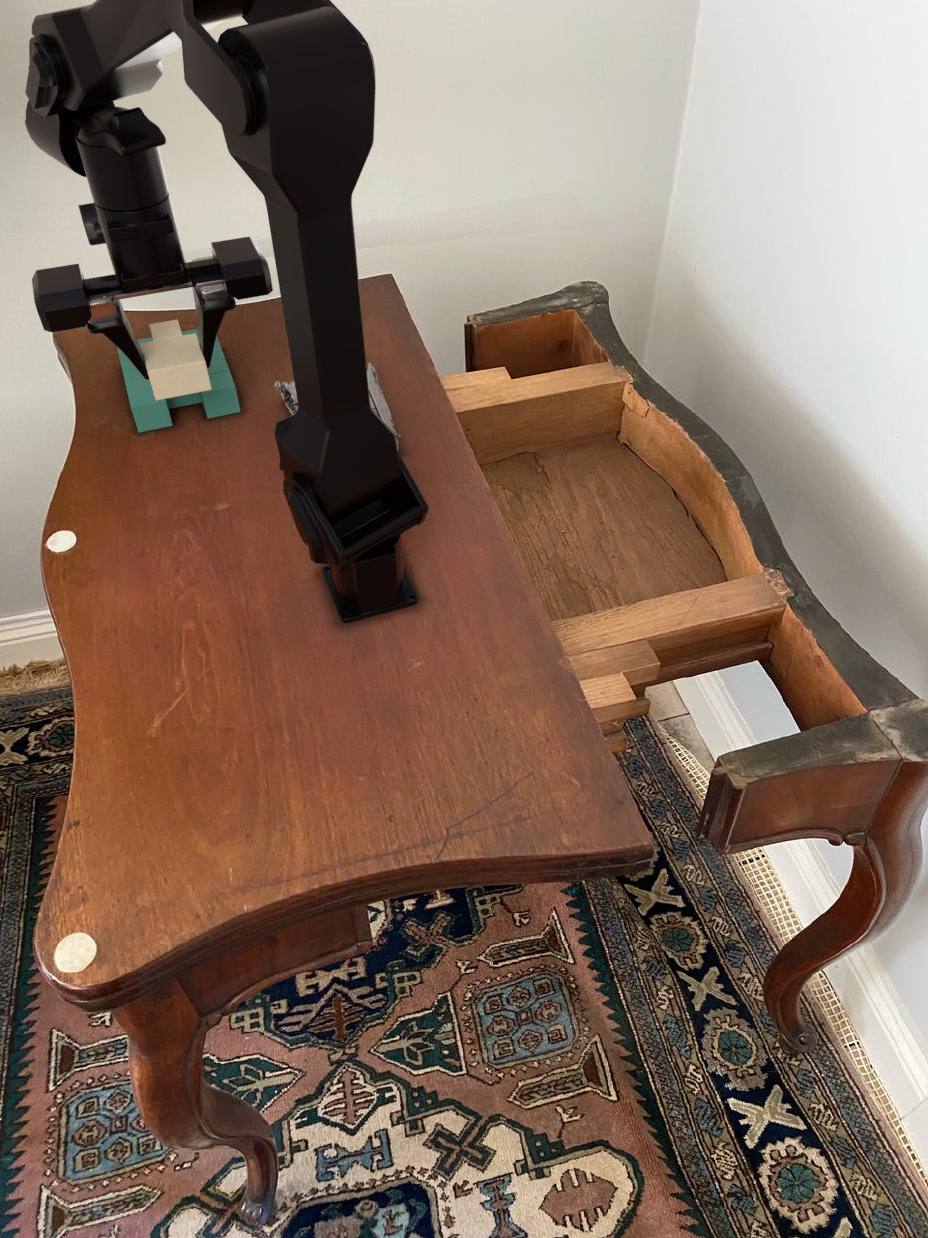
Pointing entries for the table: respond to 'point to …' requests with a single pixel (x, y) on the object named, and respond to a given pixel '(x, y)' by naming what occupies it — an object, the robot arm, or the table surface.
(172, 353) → the cream tabbed block
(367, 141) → the robot arm
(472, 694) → the table surface
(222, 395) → the teal pad
